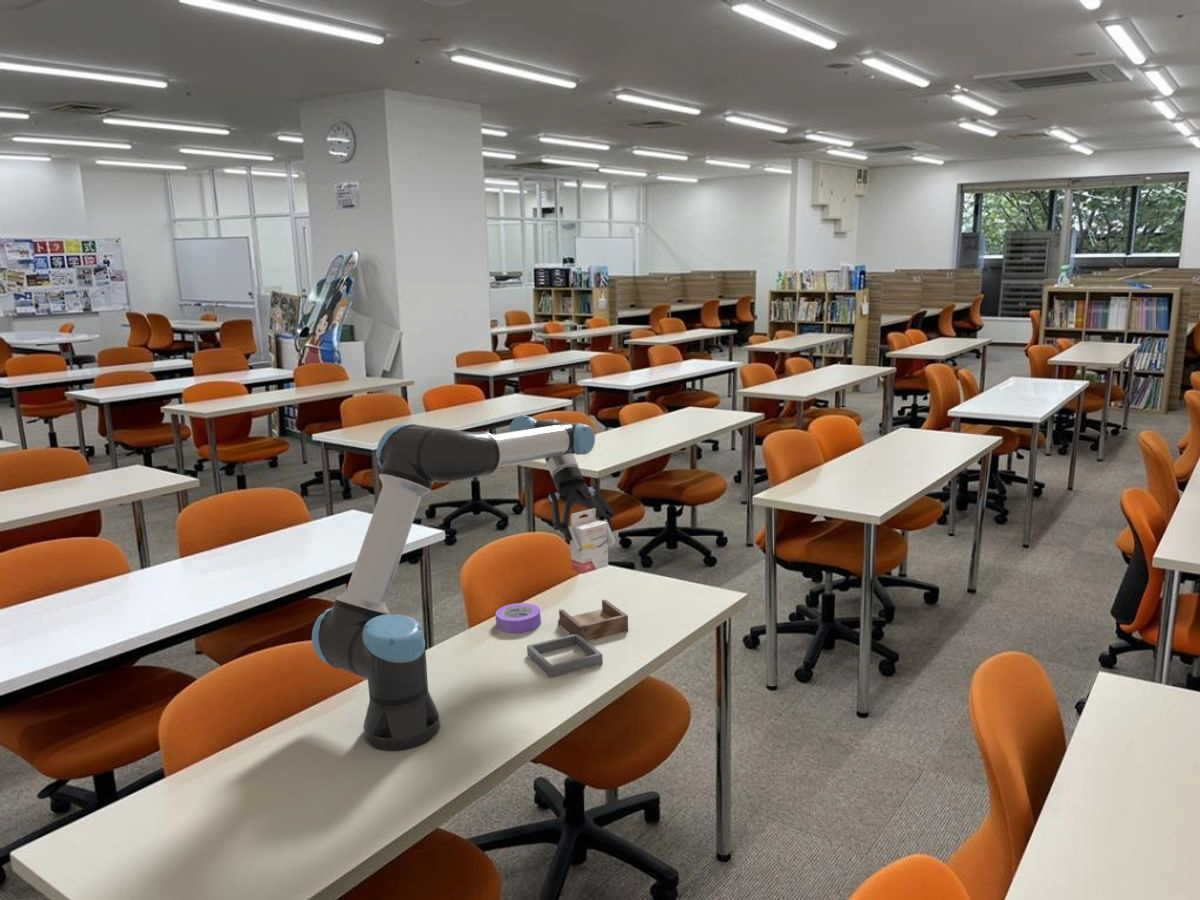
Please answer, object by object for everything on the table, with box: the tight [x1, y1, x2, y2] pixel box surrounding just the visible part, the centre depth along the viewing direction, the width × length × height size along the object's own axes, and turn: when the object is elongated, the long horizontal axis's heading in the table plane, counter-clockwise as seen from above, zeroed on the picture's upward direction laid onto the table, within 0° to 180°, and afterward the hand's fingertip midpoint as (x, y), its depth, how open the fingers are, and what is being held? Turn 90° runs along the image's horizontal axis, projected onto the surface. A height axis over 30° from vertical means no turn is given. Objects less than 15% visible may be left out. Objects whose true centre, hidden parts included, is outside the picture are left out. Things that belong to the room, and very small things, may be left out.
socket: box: [526, 633, 604, 679], centre depth 205 cm, size 14×14×2 cm
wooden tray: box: [557, 599, 629, 642], centre depth 223 cm, size 14×14×4 cm
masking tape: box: [495, 602, 542, 635], centre depth 226 cm, size 12×12×4 cm
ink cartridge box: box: [570, 508, 609, 575], centre depth 218 cm, size 9×5×15 cm, turn 130°
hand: (595, 547), depth 215 cm, fingers closed on ink cartridge box, 9 cm apart
